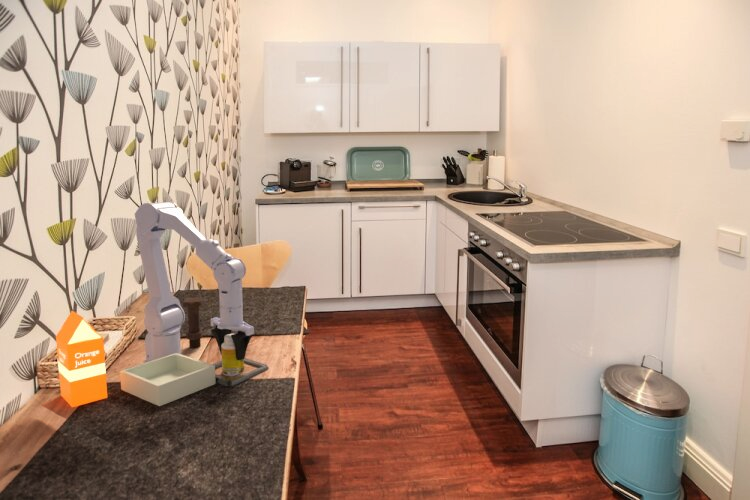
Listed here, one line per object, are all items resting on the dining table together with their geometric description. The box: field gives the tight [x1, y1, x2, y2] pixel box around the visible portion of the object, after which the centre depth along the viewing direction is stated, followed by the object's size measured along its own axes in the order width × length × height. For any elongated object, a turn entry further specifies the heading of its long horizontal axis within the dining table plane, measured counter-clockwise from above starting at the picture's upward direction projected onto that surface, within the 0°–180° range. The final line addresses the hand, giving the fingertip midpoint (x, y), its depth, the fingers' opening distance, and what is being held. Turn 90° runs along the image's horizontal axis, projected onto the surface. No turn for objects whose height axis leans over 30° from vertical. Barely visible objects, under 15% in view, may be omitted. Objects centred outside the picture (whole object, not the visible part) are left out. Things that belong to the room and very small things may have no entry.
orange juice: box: [55, 310, 108, 408], centre depth 123 cm, size 8×9×20 cm
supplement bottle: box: [221, 333, 245, 377], centre depth 139 cm, size 6×6×10 cm
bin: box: [119, 353, 217, 407], centre depth 130 cm, size 16×16×5 cm
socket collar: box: [211, 357, 270, 387], centre depth 139 cm, size 13×13×2 cm
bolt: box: [182, 297, 204, 349], centre depth 157 cm, size 6×5×15 cm
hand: (232, 356), depth 139 cm, fingers closed on supplement bottle, 6 cm apart
